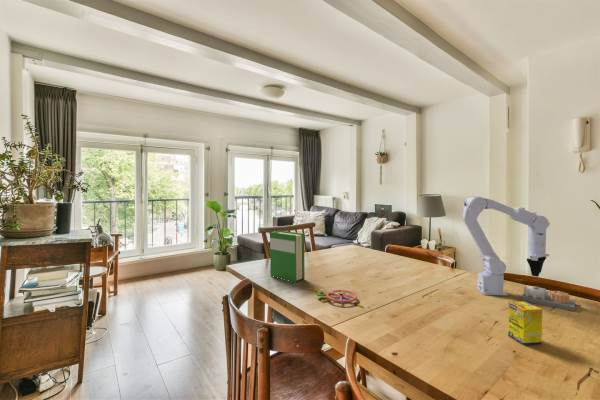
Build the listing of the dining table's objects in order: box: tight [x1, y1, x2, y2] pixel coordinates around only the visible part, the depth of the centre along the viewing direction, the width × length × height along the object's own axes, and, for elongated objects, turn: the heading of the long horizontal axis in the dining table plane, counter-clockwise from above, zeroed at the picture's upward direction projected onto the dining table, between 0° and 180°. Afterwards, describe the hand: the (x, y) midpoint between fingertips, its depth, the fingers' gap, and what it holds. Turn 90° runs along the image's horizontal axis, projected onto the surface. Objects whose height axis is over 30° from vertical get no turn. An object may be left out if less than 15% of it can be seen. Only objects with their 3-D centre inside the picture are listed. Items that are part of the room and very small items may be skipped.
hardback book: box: [269, 230, 306, 283], centre depth 154 cm, size 18×7×24 cm, turn 50°
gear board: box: [521, 285, 577, 312], centre depth 119 cm, size 16×10×5 cm, turn 45°
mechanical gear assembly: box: [308, 287, 364, 308], centre depth 126 cm, size 30×4×15 cm
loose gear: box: [549, 290, 570, 303], centre depth 117 cm, size 6×6×3 cm
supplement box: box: [507, 301, 543, 346], centre depth 90 cm, size 6×6×11 cm
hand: (536, 274), depth 126 cm, fingers open, 7 cm apart
